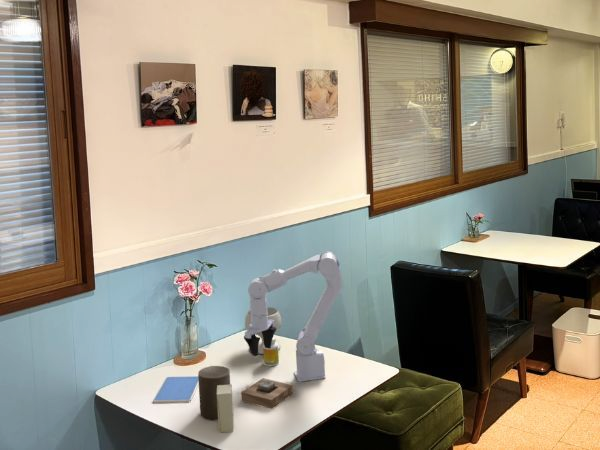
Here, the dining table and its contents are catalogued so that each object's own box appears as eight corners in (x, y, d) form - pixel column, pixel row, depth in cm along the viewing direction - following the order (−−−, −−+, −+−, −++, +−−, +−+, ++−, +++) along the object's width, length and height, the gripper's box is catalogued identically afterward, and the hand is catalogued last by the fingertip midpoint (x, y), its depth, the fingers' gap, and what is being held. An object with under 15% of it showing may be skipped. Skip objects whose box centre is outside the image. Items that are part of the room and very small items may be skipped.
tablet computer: (166, 379, 231) (166, 376, 231) (202, 378, 231) (201, 375, 231) (152, 404, 212) (152, 400, 212) (191, 403, 212) (190, 400, 212)
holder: (263, 386, 221) (262, 378, 220) (293, 393, 214) (292, 385, 214) (241, 400, 211) (241, 392, 210) (272, 408, 205) (271, 399, 204)
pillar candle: (205, 423, 197) (202, 376, 194) (196, 410, 206) (194, 364, 203) (236, 416, 201) (234, 370, 198) (226, 403, 210) (224, 359, 207)
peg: (265, 393, 216) (264, 380, 215) (275, 396, 214) (274, 382, 213) (258, 398, 212) (257, 385, 212) (268, 401, 210) (267, 387, 209)
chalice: (290, 347, 254) (288, 310, 252) (264, 358, 245) (261, 320, 242) (265, 339, 264) (263, 303, 261) (239, 350, 254) (236, 313, 251)
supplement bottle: (277, 366, 237) (275, 341, 235) (262, 366, 238) (261, 340, 236) (280, 360, 242) (279, 335, 240) (266, 360, 243) (264, 335, 241)
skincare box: (219, 422, 197) (216, 384, 195) (234, 421, 198) (231, 383, 195) (218, 433, 191) (215, 394, 189) (234, 431, 191) (231, 392, 189)
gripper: (262, 306, 232) (264, 342, 235) (236, 318, 220) (239, 356, 223) (278, 308, 228) (280, 345, 231) (253, 321, 216) (255, 360, 219)
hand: (261, 351), depth 227 cm, fingers open, 7 cm apart
